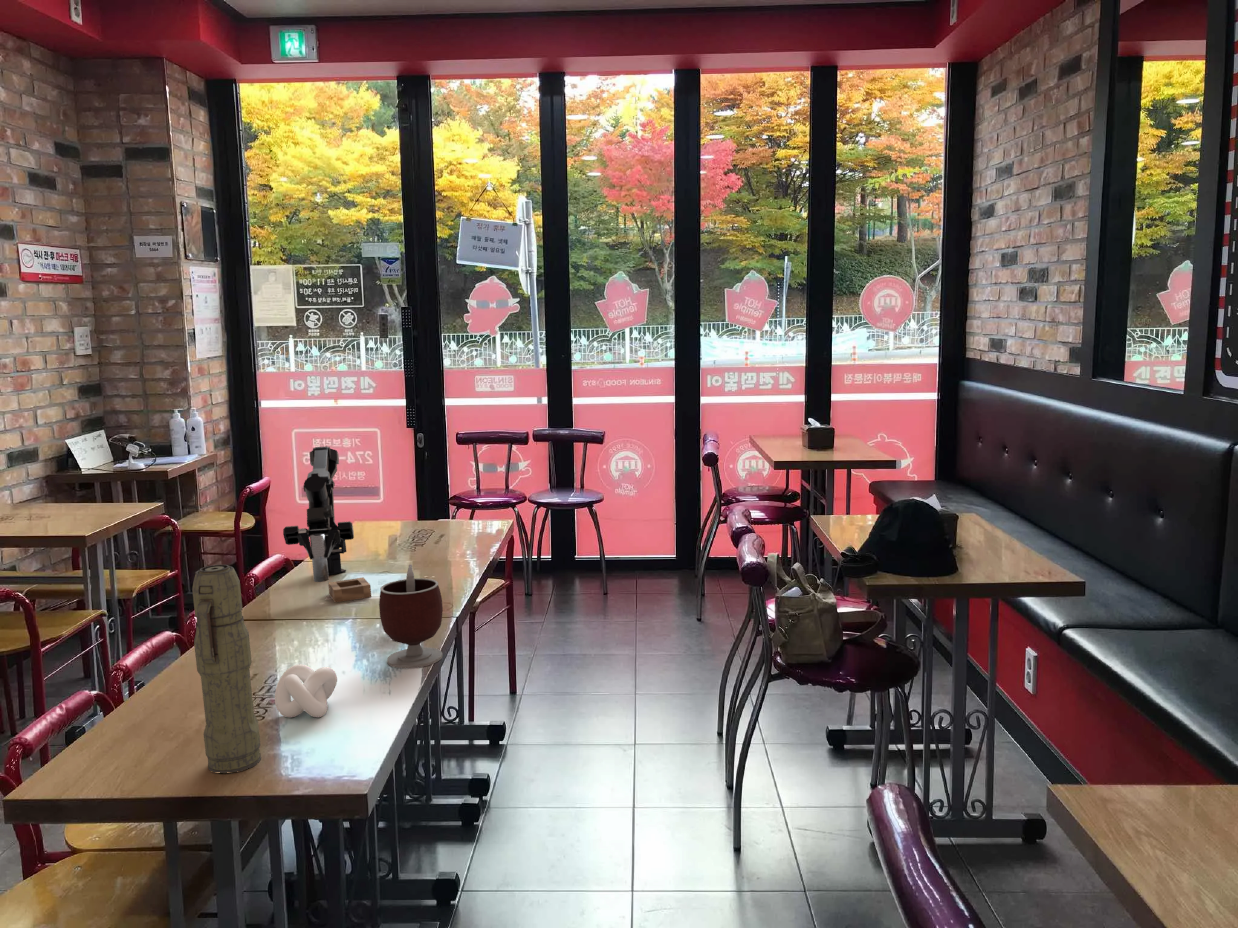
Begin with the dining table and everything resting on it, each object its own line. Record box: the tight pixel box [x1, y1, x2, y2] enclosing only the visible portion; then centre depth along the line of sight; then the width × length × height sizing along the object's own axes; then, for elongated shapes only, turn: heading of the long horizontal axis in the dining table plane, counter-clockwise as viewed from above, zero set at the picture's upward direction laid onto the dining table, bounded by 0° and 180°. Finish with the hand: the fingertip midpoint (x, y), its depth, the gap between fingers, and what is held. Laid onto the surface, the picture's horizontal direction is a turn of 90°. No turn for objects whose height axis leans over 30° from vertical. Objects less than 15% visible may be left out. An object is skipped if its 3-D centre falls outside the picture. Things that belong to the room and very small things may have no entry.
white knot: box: [274, 663, 338, 718], centre depth 190 cm, size 11×12×9 cm
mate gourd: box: [378, 563, 444, 669], centre depth 220 cm, size 16×14×20 cm
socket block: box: [327, 577, 372, 603], centre depth 277 cm, size 10×10×4 cm
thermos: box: [191, 564, 262, 773], centre depth 167 cm, size 9×12×35 cm
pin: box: [309, 533, 330, 583], centre depth 272 cm, size 4×4×13 cm
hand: (318, 558), depth 271 cm, fingers closed on pin, 4 cm apart
